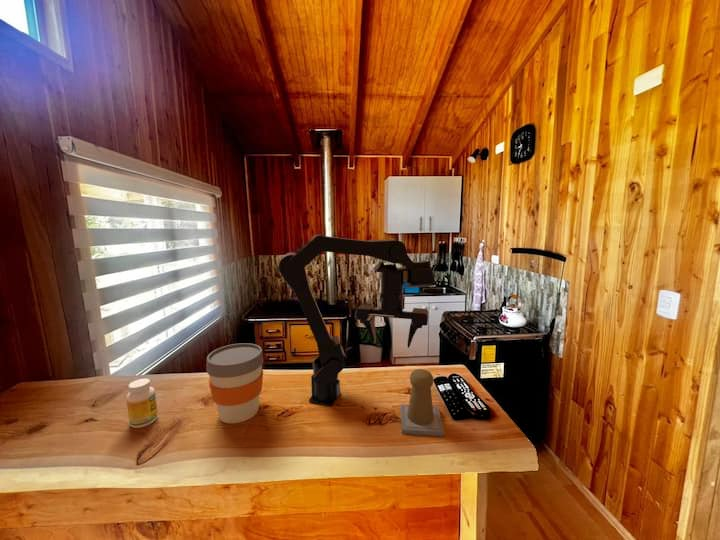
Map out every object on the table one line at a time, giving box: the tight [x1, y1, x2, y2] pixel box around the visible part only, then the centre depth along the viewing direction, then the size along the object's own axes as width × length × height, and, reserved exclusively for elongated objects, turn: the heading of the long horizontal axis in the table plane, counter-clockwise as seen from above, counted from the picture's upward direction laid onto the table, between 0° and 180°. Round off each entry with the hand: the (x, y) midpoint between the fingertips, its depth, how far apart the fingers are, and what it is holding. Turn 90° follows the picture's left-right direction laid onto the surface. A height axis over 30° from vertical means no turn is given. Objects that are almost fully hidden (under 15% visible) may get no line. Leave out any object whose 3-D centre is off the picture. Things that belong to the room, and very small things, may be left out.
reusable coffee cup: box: [205, 342, 264, 424], centre depth 72 cm, size 12×13×15 cm
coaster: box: [400, 404, 446, 437], centre depth 69 cm, size 9×9×1 cm
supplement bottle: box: [125, 378, 159, 429], centre depth 69 cm, size 5×5×10 cm
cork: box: [407, 368, 434, 425], centre depth 68 cm, size 6×6×11 cm
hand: (391, 345), depth 80 cm, fingers open, 9 cm apart
